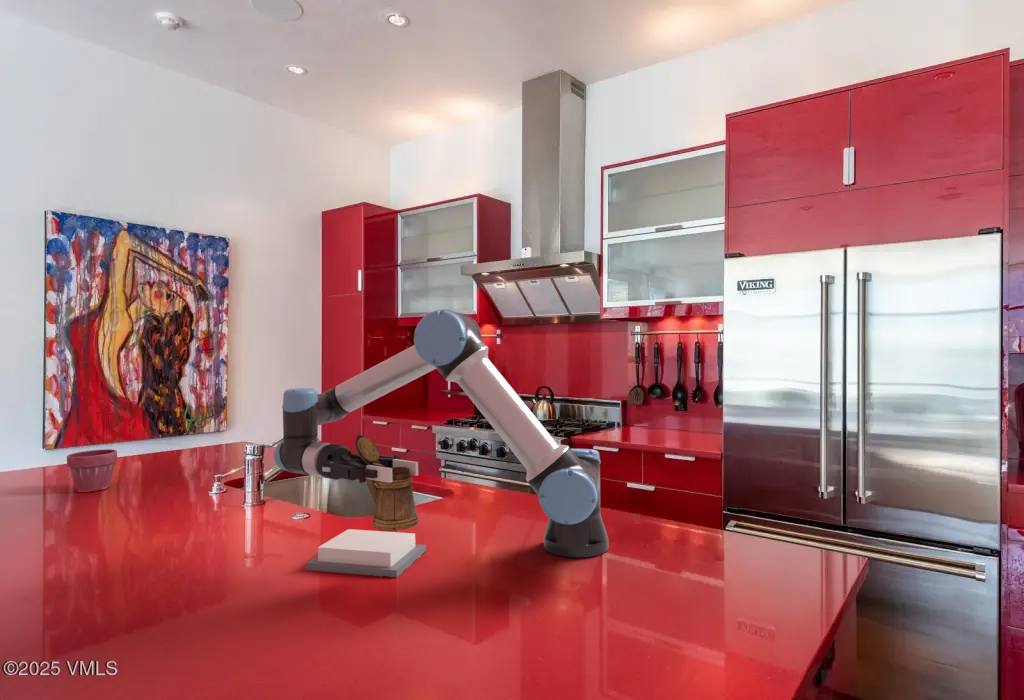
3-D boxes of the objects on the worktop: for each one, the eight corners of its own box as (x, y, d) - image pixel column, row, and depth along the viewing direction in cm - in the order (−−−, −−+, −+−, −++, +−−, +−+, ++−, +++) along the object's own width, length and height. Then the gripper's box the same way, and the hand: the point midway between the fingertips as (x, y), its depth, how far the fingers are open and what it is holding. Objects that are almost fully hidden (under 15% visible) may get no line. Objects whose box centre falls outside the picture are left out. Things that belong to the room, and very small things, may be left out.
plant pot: (56, 494, 200) (55, 456, 200) (92, 484, 214) (91, 448, 213) (93, 495, 197) (93, 456, 197) (127, 485, 211) (127, 449, 211)
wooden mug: (371, 513, 130) (370, 430, 129) (426, 519, 124) (424, 433, 124) (345, 525, 121) (343, 437, 121) (402, 533, 116) (401, 441, 116)
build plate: (426, 551, 139) (425, 532, 139) (396, 577, 123) (396, 555, 123) (344, 545, 144) (344, 526, 144) (306, 569, 128) (305, 548, 128)
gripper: (362, 469, 141) (436, 481, 128) (290, 486, 125) (367, 501, 112) (362, 437, 141) (436, 446, 128) (290, 450, 125) (367, 461, 112)
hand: (404, 472), depth 120 cm, fingers closed on wooden mug, 7 cm apart
